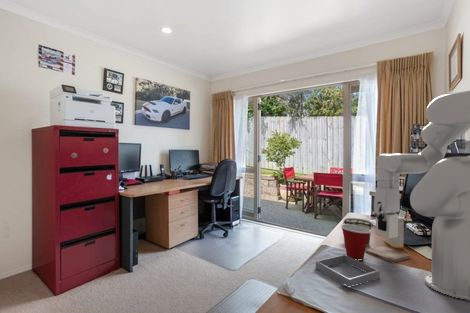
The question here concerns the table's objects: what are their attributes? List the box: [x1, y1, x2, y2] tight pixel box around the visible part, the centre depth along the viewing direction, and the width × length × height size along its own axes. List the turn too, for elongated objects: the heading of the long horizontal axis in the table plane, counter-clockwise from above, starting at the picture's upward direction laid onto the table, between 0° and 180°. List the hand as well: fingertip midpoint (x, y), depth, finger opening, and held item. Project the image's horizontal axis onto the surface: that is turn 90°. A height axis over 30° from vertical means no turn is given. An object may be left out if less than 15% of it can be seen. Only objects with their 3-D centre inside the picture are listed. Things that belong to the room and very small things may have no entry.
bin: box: [315, 254, 381, 287], centre depth 82 cm, size 14×14×2 cm
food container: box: [342, 217, 374, 246], centre depth 113 cm, size 12×6×10 cm, turn 65°
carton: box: [375, 213, 399, 239], centre depth 98 cm, size 6×6×9 cm
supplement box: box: [384, 215, 405, 249], centre depth 109 cm, size 8×5×13 cm, turn 168°
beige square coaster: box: [365, 245, 411, 264], centre depth 97 cm, size 11×11×1 cm
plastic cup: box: [340, 223, 372, 260], centre depth 95 cm, size 11×11×12 cm
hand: (387, 228), depth 98 cm, fingers closed on carton, 5 cm apart
